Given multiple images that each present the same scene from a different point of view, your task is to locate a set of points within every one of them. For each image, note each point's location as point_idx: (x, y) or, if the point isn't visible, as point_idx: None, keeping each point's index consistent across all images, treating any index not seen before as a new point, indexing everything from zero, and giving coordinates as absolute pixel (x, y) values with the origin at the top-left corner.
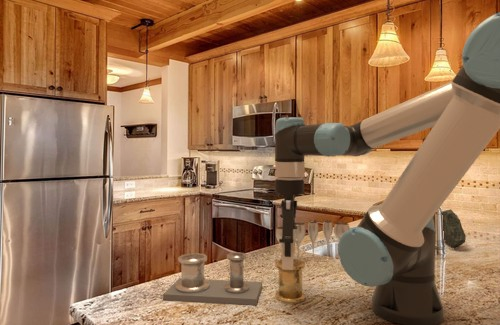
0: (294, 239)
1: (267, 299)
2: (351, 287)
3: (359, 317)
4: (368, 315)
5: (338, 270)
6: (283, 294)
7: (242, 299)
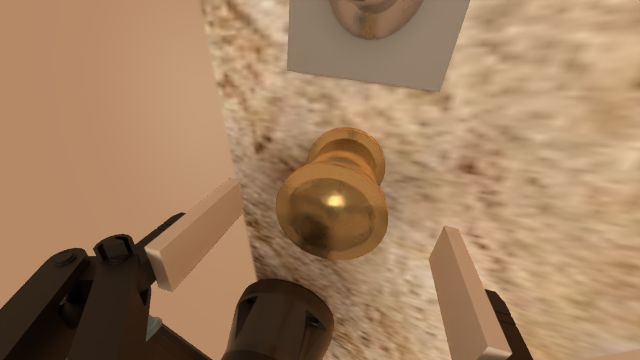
0: (443, 318)
1: (333, 103)
2: (395, 294)
3: (261, 255)
4: (269, 268)
5: (527, 315)
6: (319, 151)
7: (290, 20)
